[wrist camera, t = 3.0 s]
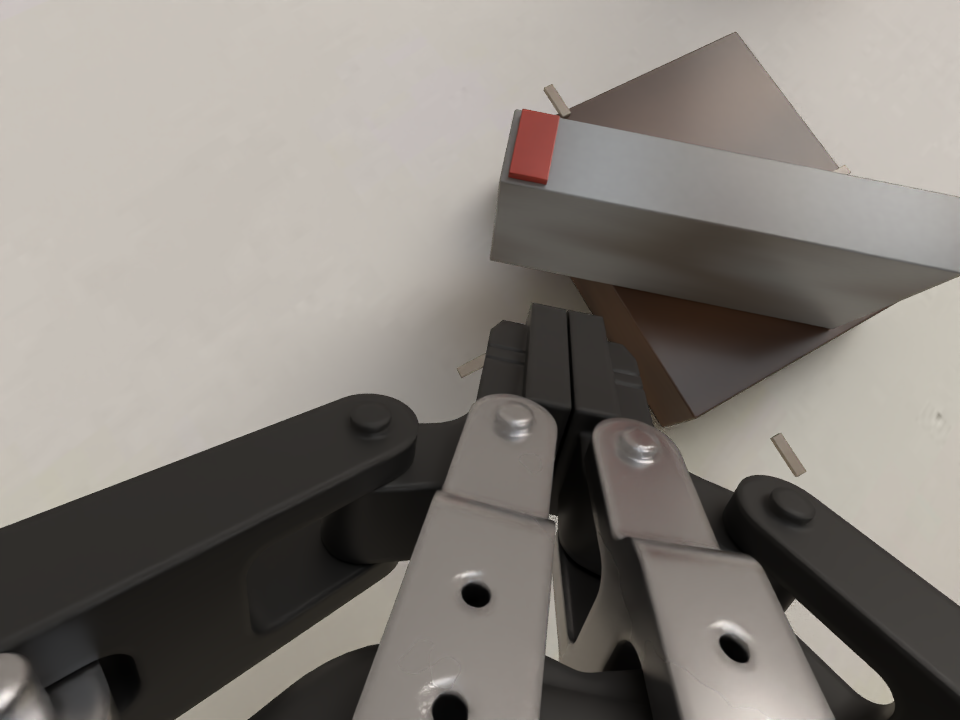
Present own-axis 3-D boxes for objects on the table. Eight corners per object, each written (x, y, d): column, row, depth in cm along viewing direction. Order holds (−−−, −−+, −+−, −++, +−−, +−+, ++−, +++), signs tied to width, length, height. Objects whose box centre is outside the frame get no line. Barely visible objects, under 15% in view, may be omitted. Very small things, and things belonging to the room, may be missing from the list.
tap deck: (915, 375, 21) (991, 357, 18) (566, 586, 19) (586, 606, 16) (691, 66, 24) (724, 5, 21) (366, 218, 22) (351, 175, 19)
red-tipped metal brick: (835, 271, 19) (974, 192, 14) (832, 329, 18) (975, 270, 13) (501, 203, 19) (516, 101, 14) (489, 260, 18) (499, 176, 13)
